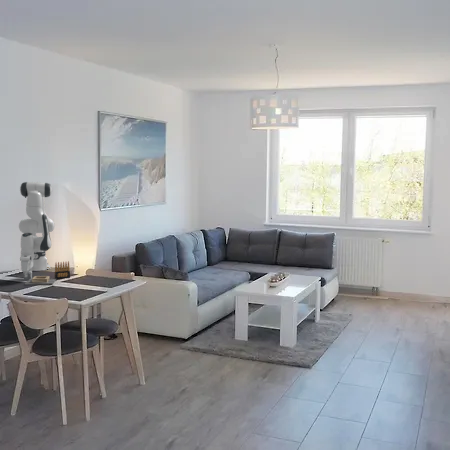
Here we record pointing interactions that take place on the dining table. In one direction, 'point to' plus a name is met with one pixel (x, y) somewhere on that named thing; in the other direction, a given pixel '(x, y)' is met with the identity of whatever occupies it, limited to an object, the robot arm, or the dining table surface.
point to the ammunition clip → (62, 270)
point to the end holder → (40, 280)
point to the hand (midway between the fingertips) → (27, 275)
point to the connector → (28, 275)
